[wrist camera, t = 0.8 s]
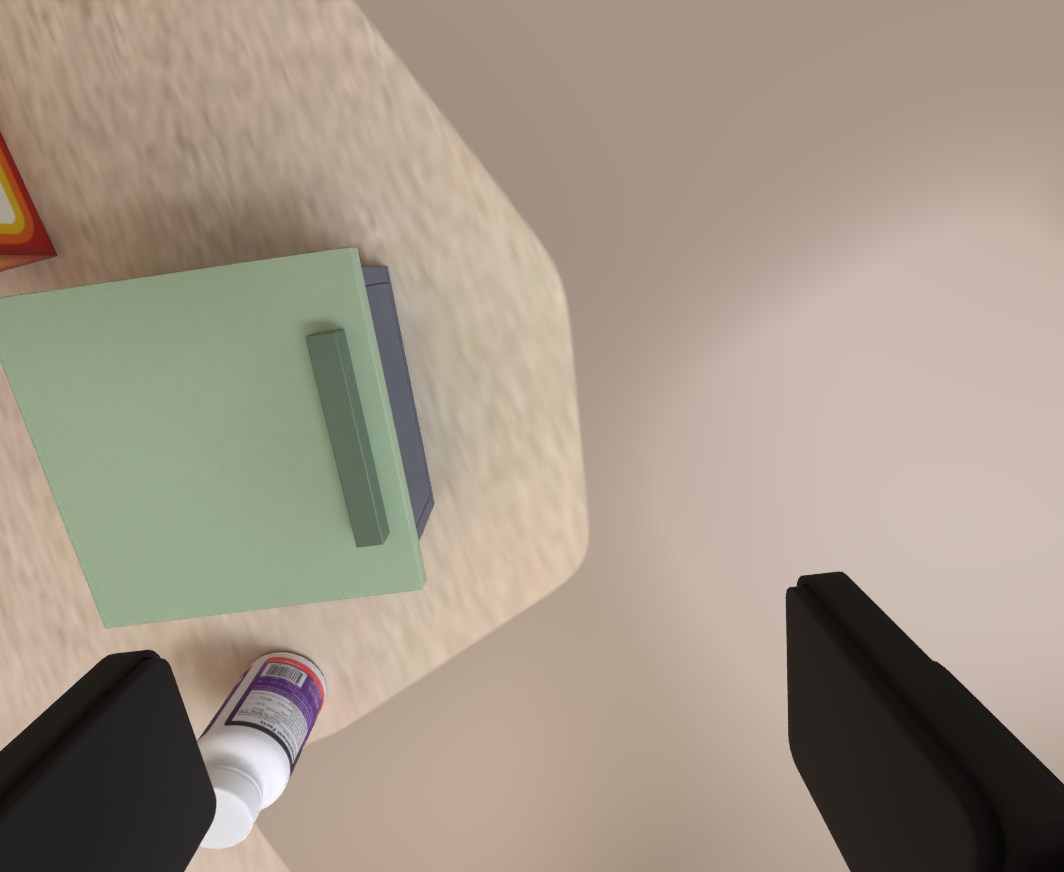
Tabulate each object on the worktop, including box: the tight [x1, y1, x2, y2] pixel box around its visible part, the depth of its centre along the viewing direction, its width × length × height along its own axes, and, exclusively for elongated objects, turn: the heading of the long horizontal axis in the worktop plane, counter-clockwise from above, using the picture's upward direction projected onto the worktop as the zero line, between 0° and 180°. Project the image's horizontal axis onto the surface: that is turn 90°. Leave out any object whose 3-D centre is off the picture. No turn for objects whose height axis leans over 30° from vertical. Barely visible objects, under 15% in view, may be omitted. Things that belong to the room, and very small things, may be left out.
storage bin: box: [361, 266, 434, 541], centre depth 30 cm, size 14×14×8 cm
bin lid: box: [0, 247, 426, 628], centre depth 25 cm, size 15×15×2 cm
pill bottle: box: [197, 652, 326, 849], centre depth 34 cm, size 5×5×10 cm
